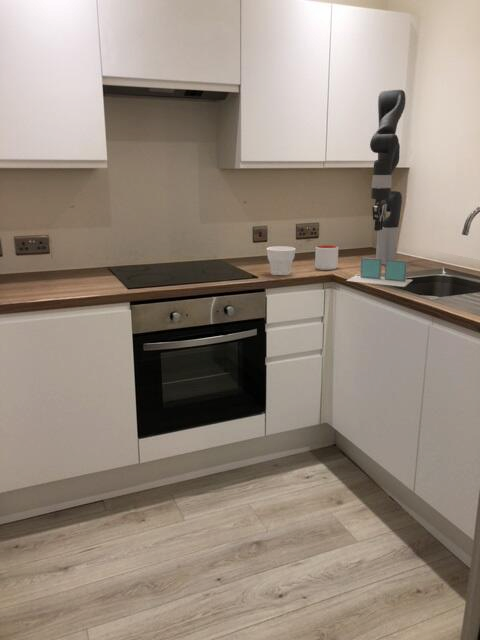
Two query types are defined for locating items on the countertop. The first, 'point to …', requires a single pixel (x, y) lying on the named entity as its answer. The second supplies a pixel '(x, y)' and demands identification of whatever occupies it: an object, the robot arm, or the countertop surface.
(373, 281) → the mat
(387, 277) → the tile
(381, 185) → the robot arm
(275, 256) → the cup
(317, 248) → the cup
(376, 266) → the tile
